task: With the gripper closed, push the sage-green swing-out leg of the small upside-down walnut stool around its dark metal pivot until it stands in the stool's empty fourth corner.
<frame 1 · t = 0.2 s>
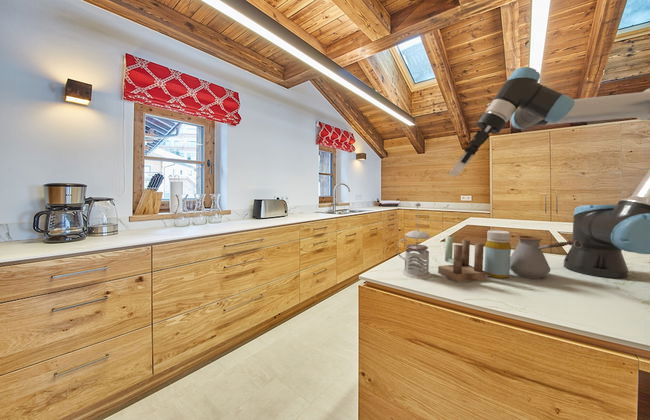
hand: (453, 174, 85), 35 cm above the counter, tool tilted 35°, fingers open, 13 cm apart
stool: (461, 276, 83), on the counter
french press: (413, 274, 86), on the counter
coffee pot: (540, 280, 79), on the counter
swing leg: (453, 250, 88), point 7 cm above the counter, hinge at -90.0°
bottle: (496, 275, 83), on the counter
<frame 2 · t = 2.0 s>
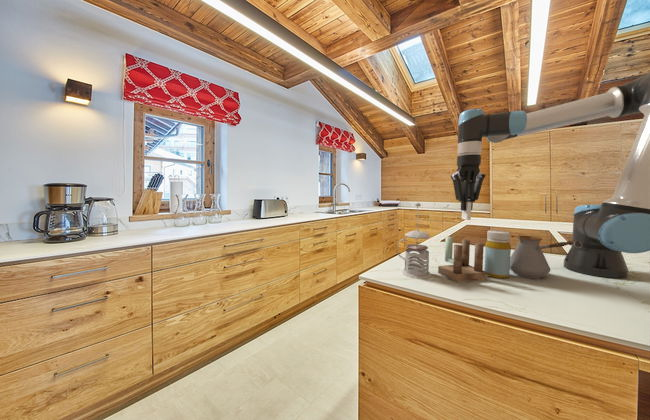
hand: (466, 219, 91), 18 cm above the counter, tool pointing down, fingers closed
nothing on the counter moved.
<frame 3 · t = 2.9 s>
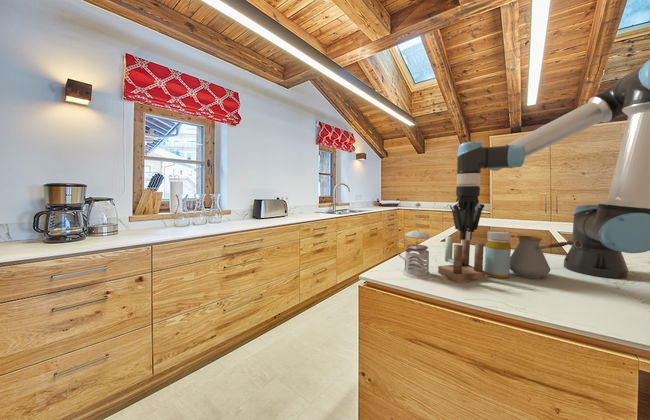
hand: (465, 248, 92), 7 cm above the counter, tool pointing down, fingers closed
nothing on the counter moved.
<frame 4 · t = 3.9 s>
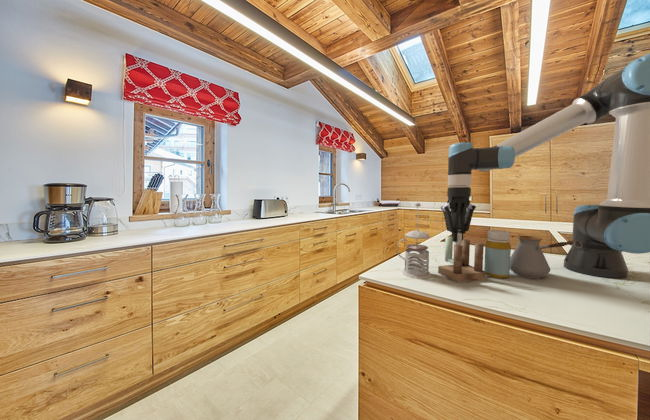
hand: (456, 250, 91), 7 cm above the counter, tool pointing down, fingers closed
swing leg: (453, 250, 88), point 7 cm above the counter, hinge at -89.9°, touching gripper
everything else where it was.
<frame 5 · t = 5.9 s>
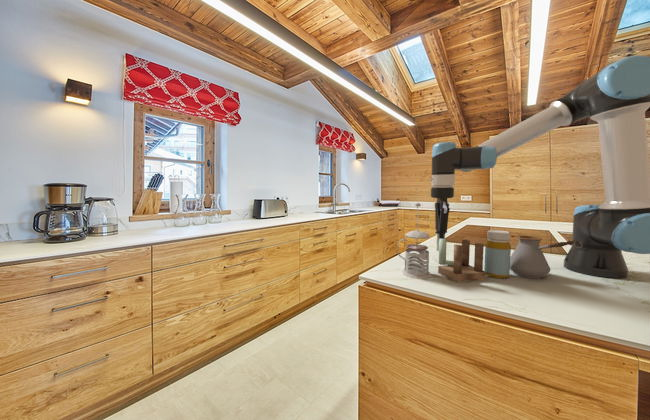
hand: (440, 250, 91), 7 cm above the counter, tool pointing down, fingers closed
swing leg: (450, 252, 86), point 7 cm above the counter, hinge at -33.2°, touching gripper
everything else where it was.
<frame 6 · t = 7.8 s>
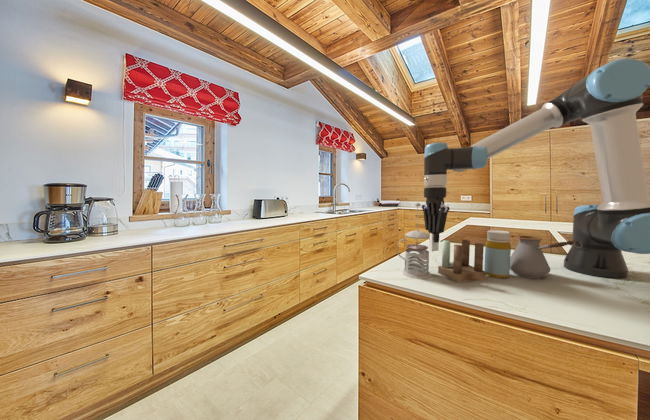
hand: (433, 250, 91), 7 cm above the counter, tool pointing down, fingers closed
swing leg: (452, 253, 85), point 7 cm above the counter, hinge at 1.4°
everything else where it was.
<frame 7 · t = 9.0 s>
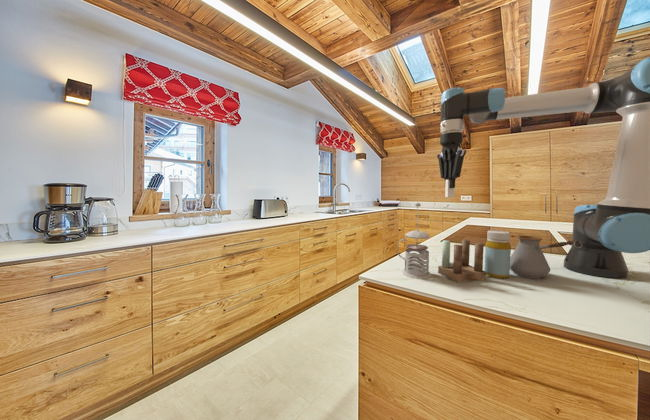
hand: (449, 196, 93), 26 cm above the counter, tool pointing down, fingers closed
nothing on the counter moved.
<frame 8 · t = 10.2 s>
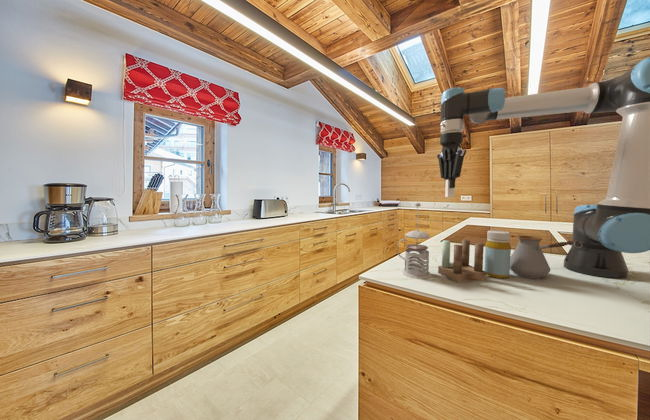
hand: (449, 196, 93), 26 cm above the counter, tool pointing down, fingers closed
nothing on the counter moved.
at the end: swing leg at +1° (first picture: -90°); french press moved 0.2 cm from its start; bottle moved 0.2 cm from its start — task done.
